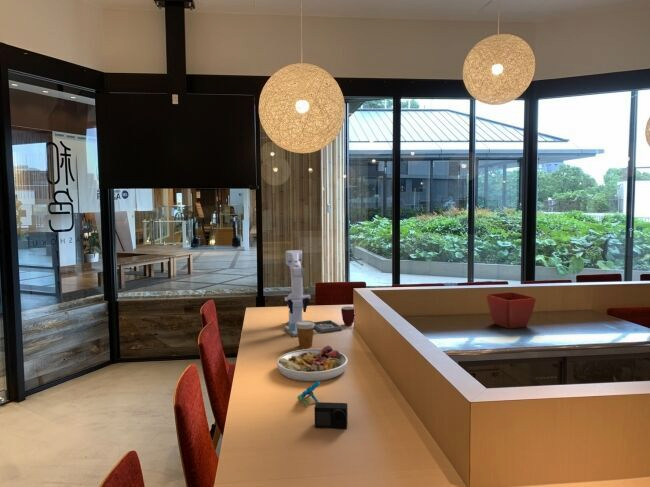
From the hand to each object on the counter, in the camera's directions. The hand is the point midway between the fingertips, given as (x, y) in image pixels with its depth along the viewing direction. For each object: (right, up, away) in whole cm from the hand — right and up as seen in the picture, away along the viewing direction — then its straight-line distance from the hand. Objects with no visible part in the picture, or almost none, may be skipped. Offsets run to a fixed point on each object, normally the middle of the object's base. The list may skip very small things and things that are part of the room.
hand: (298, 312), depth 266 cm
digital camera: (+17, -21, -112) cm, 115 cm away
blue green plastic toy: (+9, -19, -92) cm, 95 cm away
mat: (+1, -11, -1) cm, 11 cm away
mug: (+30, -9, +11) cm, 33 cm away
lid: (+1, -10, -1) cm, 10 cm away
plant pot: (+120, -8, +5) cm, 120 cm away
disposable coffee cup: (+5, -13, -27) cm, 31 cm away
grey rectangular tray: (+16, -10, +5) cm, 19 cm away
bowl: (+10, -17, -61) cm, 64 cm away
